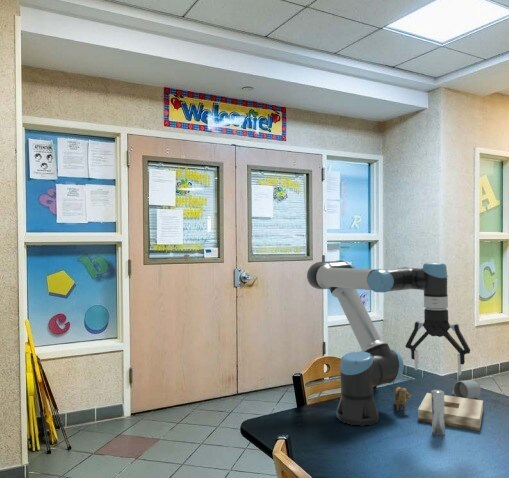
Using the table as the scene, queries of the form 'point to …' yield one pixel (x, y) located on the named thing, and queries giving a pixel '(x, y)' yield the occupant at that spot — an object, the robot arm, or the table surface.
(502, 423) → the table surface
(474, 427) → the maple block
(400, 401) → the lion figurine
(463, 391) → the ceramic mug
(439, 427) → the metal peg
